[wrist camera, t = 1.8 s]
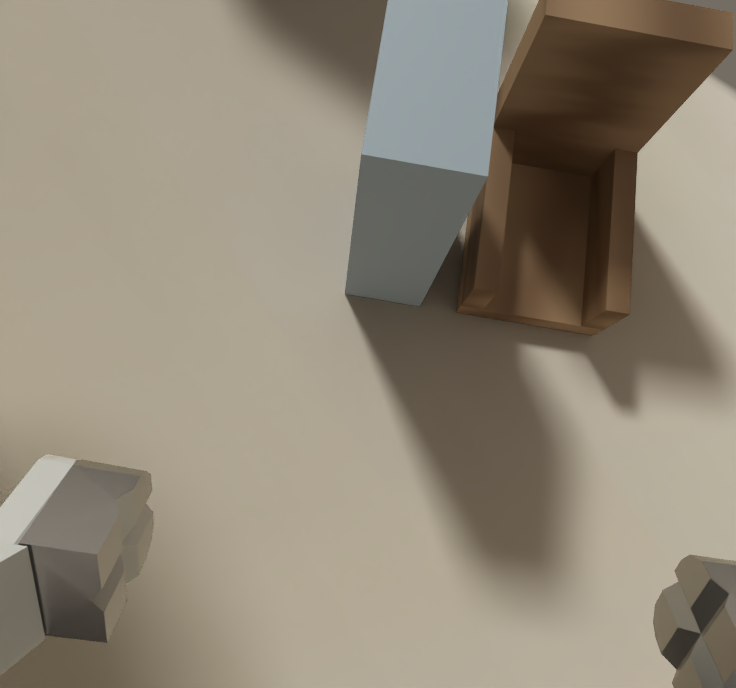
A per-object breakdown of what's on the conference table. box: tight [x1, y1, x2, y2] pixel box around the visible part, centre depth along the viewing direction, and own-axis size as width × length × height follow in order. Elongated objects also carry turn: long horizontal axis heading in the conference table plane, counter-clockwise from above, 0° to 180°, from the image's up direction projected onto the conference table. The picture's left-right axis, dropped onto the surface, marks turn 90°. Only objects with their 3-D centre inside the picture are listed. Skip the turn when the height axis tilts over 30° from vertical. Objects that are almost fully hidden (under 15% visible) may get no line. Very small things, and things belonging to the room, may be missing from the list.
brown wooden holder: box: [456, 0, 733, 335], centre depth 25 cm, size 6×9×10 cm
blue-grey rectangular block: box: [345, 0, 508, 306], centre depth 23 cm, size 4×6×12 cm, turn 171°
